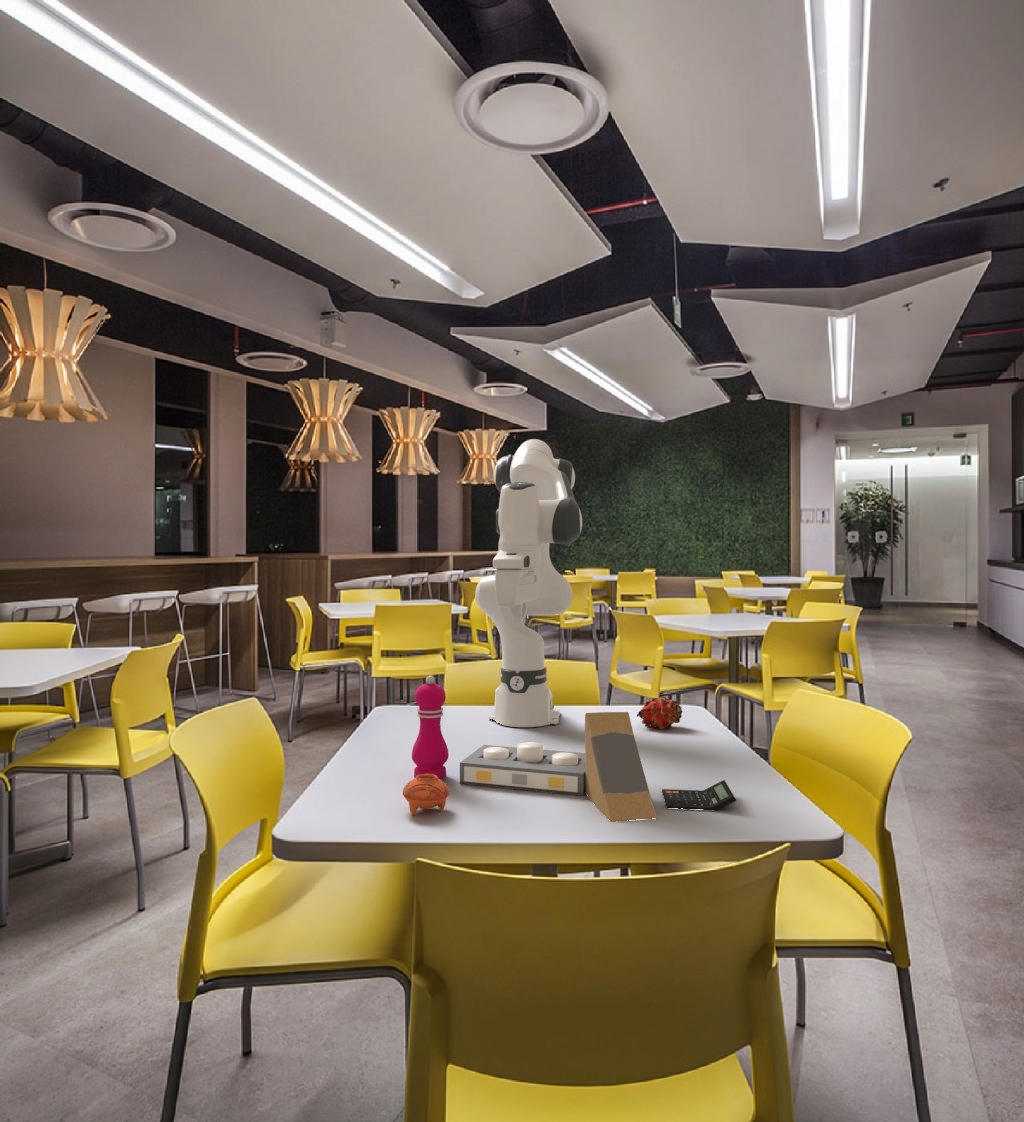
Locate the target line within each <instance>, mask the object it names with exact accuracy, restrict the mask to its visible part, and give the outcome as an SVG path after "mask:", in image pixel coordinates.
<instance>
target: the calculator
mask: <svg viewBox="0 0 1024 1122" xmlns="http://www.w3.org/2000/svg"><path fill="white" fill-rule="evenodd" d="M661 793H663V794H662V797H663V796H664V797H663V800H664V799H665V801H664V803H666V804H665V807H666V806H667V807H666V809H667V808H678V809H681V808H683V809H703V810H716V811H718V810H720V809H722V808H724V807H726V806H728V805H731V804H732V803H734V802H737V799H736V797H735V795H734V793H733V792H732V790H731V788H730V787H729V785H728V783H727V782H726V780H725V779H723V780H721V781H719V782H717V783H715V784H714V785H711V786H710V787H707V788H706V789H703V790H697V789H695V790H693V789H667V788H663V789H661Z"/></svg>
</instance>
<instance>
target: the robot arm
mask: <svg viewBox="0 0 1024 1122" xmlns="http://www.w3.org/2000/svg"><path fill="white" fill-rule="evenodd" d="M496 462H497V463H496V464H495V467H494V469H493V482H494V484H495V488H496V490H498V492H499V495H500V496H499V502H498V508H497V509H496V511H495V532H496V533H497V534H498V535H499V539H498V543H497V544H498V545H497V546H498V550H497V554H496V555H495V556H494V558H493V559H492V567H493V569H495V572H494V573H495V574H491V575H487V576H486V575H485V576H483V577H482V578H480V580H479V581H478V583H477V585H476V588H475V591H474V593H475V594H474V596H475V602H476V604H477V606H478V608H479V609H480V610H481V612H483V613H484V614H485V615H486V616H488V617H489V618H490V619H491V621H492V622H493V624H494V626H495V627H496V628H497V631H498V633H499V637H500V642H501V654H502V655H501V657H502V658H501V659H502V660H501V661H502V667H501V668H500V672H499V673H500V674H499V675H500V682H501V684H500V685H498V687H497V688H496V689H495V693H494V695H495V696H494V706H493V707H494V711H493V712H494V713H493V714H490V715H488V720H489V719H493V720H495V721H496V723H497V724H498V723H500V724H499V725H501V724H502V726H505V727H512V728H513V727H515V728H535V727H543V726H551V725H550V724H555V725H558V724H559V722H560V717H559V716H561V709H559V708H554V704H553V693H552V691H551V689H550V688H549V686H548V683H547V680H548V678H547V676H548V674H547V671H548V668H547V667H546V666H545V641H544V639H543V637H542V635H541V634H540V633H538V632H537V631H536V630H534V629H532V628H531V627H528V626H527V625H525V624H526V617H527V616H533V617H536V616H537V617H539V616H540V617H550V616H556V615H560V614H564V613H566V612H567V610H568V609H569V608H570V607H571V605H572V601H573V589H572V585H571V583H570V582H569V580H568V579H567V578H566V577H565V576H563V574H561V573H560V572H558V571H557V569H556V568H555V567H554V565H553V563H552V561H551V555H550V544H559V545H571V544H572V543H573V542H575V541H576V540H577V539H578V538H579V537H580V536H581V532H582V529H583V515H582V513H581V509H580V507H579V504H578V503H577V501H576V500H575V496H574V492H573V488H574V486H575V481H576V473H575V470H574V467H573V464H572V462H571V461H569V460H566V459H564V458H554V455H553V452H552V449H551V447H550V446H549V445H548V443H546V442H545V441H544V440H540V439H537V438H532V439H527V440H526V441H524V442H522V443H521V444H520V446H518V448H517V450H516V451H515V453H514V454H513V455H512V454H508V455H505V456H502V457H500V458H499V459H498V460H497V461H496ZM495 721H494V722H495ZM557 723H558V724H557Z"/></svg>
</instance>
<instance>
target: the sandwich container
mask: <svg viewBox="0 0 1024 1122" xmlns="http://www.w3.org/2000/svg"><path fill="white" fill-rule="evenodd" d="M584 743H585V744H584V753H585V787H586V792H585V795H586V796H587V795H588V796H587V798H588V799H589V800H590V799H591V800H590V802H591V803H592V804H593V803H594V804H595V805H594V804H593V805H594V806H595V808H596V809H598V811H599V812H600V813H601V812H602V813H603V814H602V815H603V816H604V815H605V816H606V817H605V816H604V817H605V818H606V820H608V819H609V820H610V821H609V820H608V821H609V822H610V823H620V822H619V821H627V820H628V821H629V820H636V819H652V818H657V819H658V816H657V814H656V813H657V812H656V810H655V806H654V803H653V800H652V797H651V792H650V790H649V785H648V782H647V779H646V775H645V771H644V768H643V764H642V760H641V756H640V753H639V750H638V746H637V742H636V738H635V735H634V731H633V725H632V723H631V719H630V713H629V712H628V711H621V712H620V711H606V712H605V711H602V712H598V711H597V712H585V715H584ZM616 821H618V822H616ZM629 822H630V821H629Z"/></svg>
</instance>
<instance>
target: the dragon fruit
mask: <svg viewBox="0 0 1024 1122" xmlns="http://www.w3.org/2000/svg"><path fill="white" fill-rule="evenodd" d="M682 713H683V710H682V706H680V704H678V702H677V701H676V700H673V699H668V698H667V697H665V696H662V698H661V699H660V698H659V699H658V698H657V697H652V699H651V700H650V701H646V702H645V704H644V706H642V708H641V709H640V710H639V711H638V712H637V714H636V717H637V718H638V717H640V719H642V721H641V724H642V725H644V727H645V728H651V729H655V728H659V729H660V730H664V729H670V728H672V726H673V724H678V723H680V722H681V719H682Z"/></svg>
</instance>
